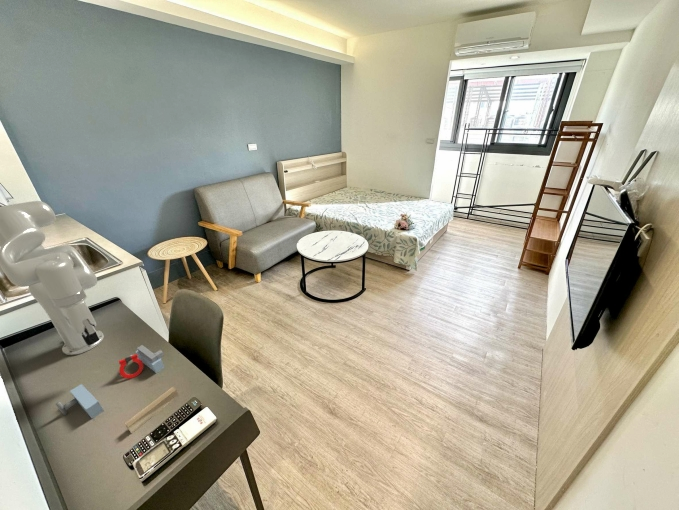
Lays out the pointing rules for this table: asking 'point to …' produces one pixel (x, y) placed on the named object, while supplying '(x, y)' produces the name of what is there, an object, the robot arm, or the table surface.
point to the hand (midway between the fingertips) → (93, 342)
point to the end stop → (151, 410)
